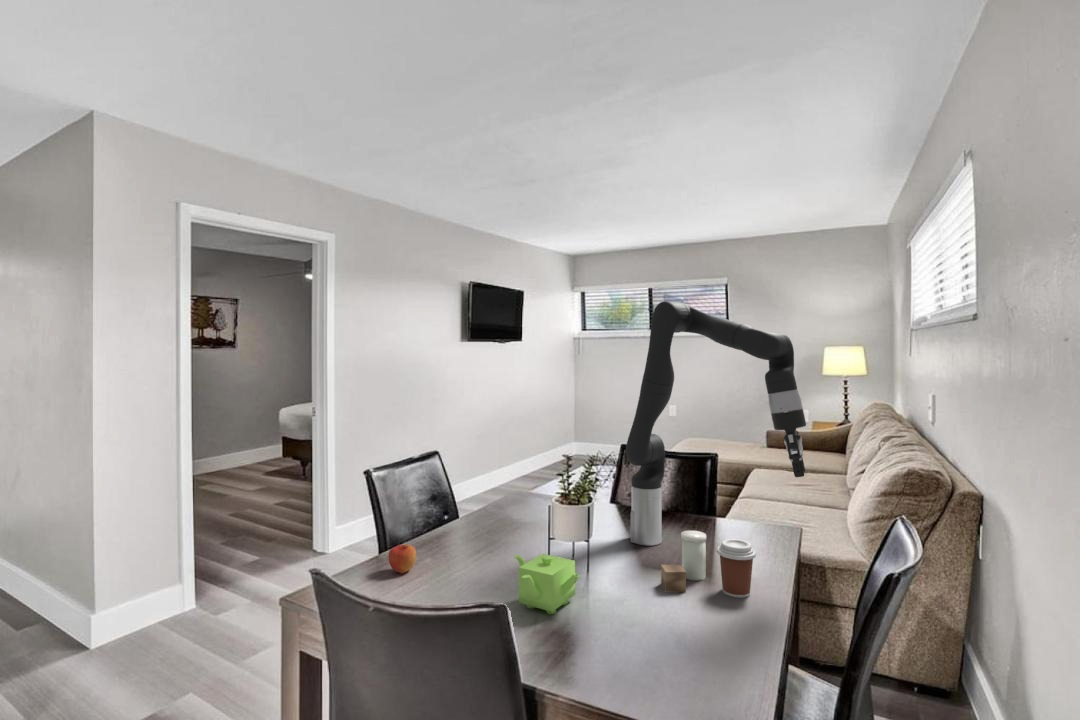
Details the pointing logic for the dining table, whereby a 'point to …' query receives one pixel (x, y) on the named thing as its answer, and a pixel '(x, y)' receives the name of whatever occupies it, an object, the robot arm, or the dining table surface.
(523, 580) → the kettle
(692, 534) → the canister
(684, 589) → the walnut block
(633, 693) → the dining table surface
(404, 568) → the apple
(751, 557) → the coffee cup
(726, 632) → the dining table surface
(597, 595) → the dining table surface
